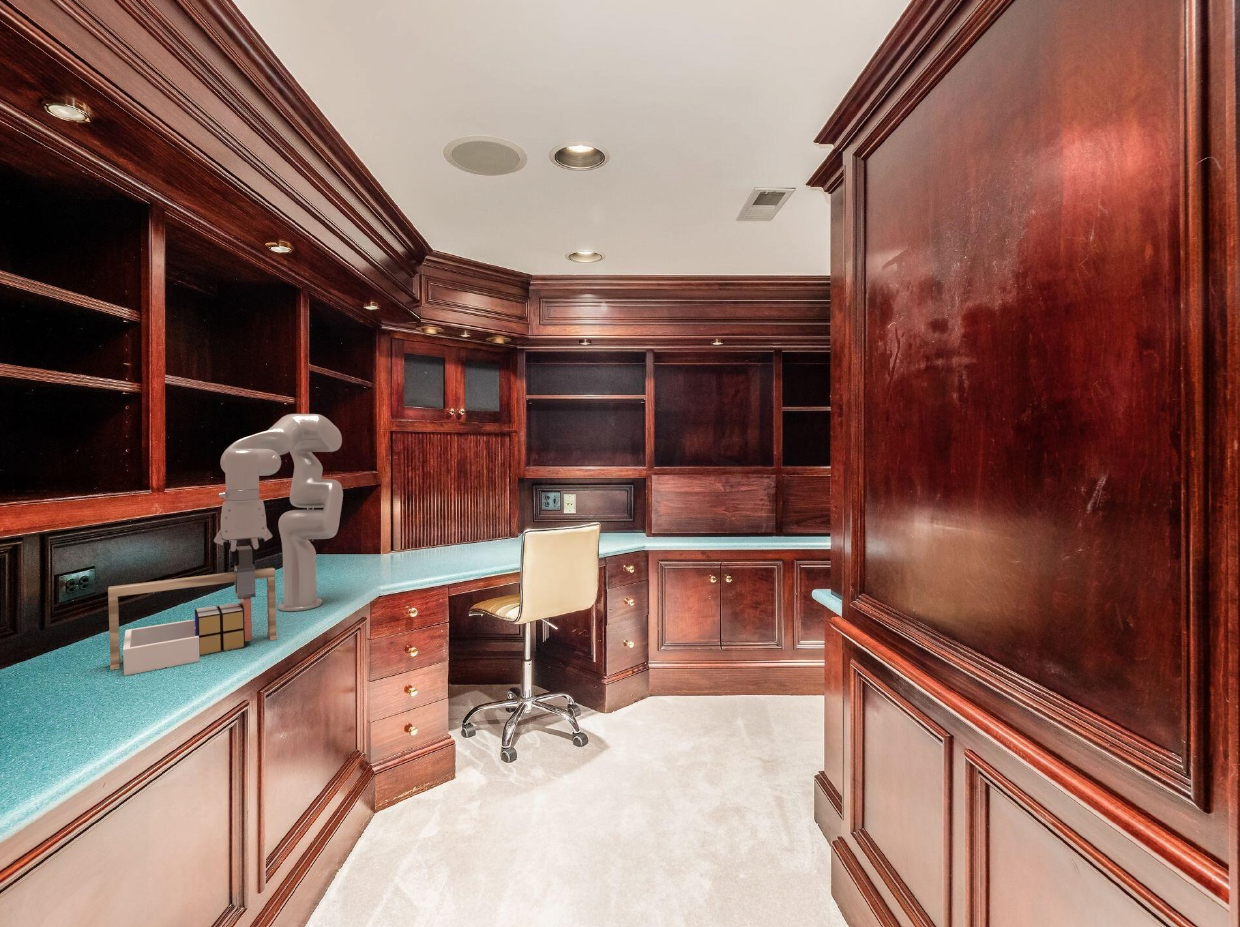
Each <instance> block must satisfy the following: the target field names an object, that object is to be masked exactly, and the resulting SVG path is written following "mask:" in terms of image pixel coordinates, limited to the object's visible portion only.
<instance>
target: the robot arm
mask: <svg viewBox="0 0 1240 927" xmlns="http://www.w3.org/2000/svg"><path fill="white" fill-rule="evenodd" d="M342 443H343V436H342V433H341V431H340V430H339V428H338V427H337V426H336V425H334V423H333V422H331V420H330V419H328V418H327V417H325V416H324V415H322V414H318V413H317V414H316V413H290V414H289V413H288V414H286V415H284V416H282V417H281V418H280V419H279V420H278V421H276V422H275V423H274V424H273V425H272V426H271V427H270V428H269V429H267V430H265V431H261V432H258V433H255V434H252V435H249V436H246V437H243V438H240V439H238V440H236V441H234V442H233V443H232V444H230V445H229V446H228V447H227V448H226V449H225V450H224V452H223V453H222V455H221V458H220V461H219V462H220V463H219V464H220V468H221V470H222V471H223V472H224V474H225V491H222V492H219V493H218V496H219V498H220V499H225V501H223V502H222V506H221V513H220V529H219V531H218V532H217V534H216V535H215V537H214V539H213V542H214V543H215V544H218V545H221V546H223V547H225V548H226V549H228V550H230V558H231V559H230V561H231V563H233V565H235V566H238V565H239V563H238V551H237V548H236V547H237V543H238V541H237V540H247V539H248V540H249V539H250V541H251V546H250V547H251V548H252V559H253V565H255V564H256V561H258V549H259V547H260V546H261V545H262V544H264V543H265V542H266V541H268V540H269V539H272V538H273V534H272V532H270V530H269V528H268V527H267V516H266V508H265V504H264V500H261V499H260V477H262V476H263V477H264V476H271V475H274V474H276V473H277V472H278V471H279V470H280V468H281V466H282V460H281V459H282V458H281V456H283V455H286V454H288V453H290V455H291V458H292V461H293V465H294V468H293V475H292V481H291V486H290V491H289V502H290V504H291V505H292V506H294V507H296V508H302V509H293V510H289V511H286V512H284V513H283V514H281V516H280V517H279V519H278V531H279V535H280V539H281V549H282V576H283V577H282V578H283V579H282V580H283V582H282V583H283V588H282V589H283V601H282V602H281V603H279V604H278V610H279V611H282V612H298V611H299V612H300V611H305V610H313V609H315V608H318V607H320V606H321V605H322V604H323V600H322V599H321V598H319V597H318V596H317V595H318V594H317V551H316V549H315V546H314V545H313V544H312V543H311V541H310V540H326V539H331V538H334V537H335V536H336V535H337V533H338V531H339V526H340V518H341V512H342V507H343V506H342V505H343V497H344V491H343V490H344V489H343V487H342V486H343V485H342V484H341V483H340V481H338V480H336V479H331V478H322V476H323V470H324V468H323V465H322V463H321V462H320V460H319V459H318V458H317V457H316V456H315V455H314V454H313V453H314V452H315V453H316V452H317V453H318V452H319V453H320V452H321V453H323V452H324V453H328V452H329V453H333V452H336V451H338V450H339V449H340V448H341V446H342ZM304 508H305V509H304ZM308 508H314V509H308ZM315 508H317V509H315ZM319 508H323V509H319Z"/></svg>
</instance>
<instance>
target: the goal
mask: <svg viewBox="0 0 1240 927" xmlns="http://www.w3.org/2000/svg"><path fill="white" fill-rule="evenodd" d="M124 632H125V633H124V640H123V648H122V654H123V655H122V656H123V659H122V660H123V676H124V677H125V676H128V675H135V674H140V673H145V672H150V671H155V669H156V670H160V669H165V667H167V668H171V667H175V666H176V667H177V666H181V665H186V664H190V663H191V664H192V663H197V662H200V661H201V659H200V658H201V656H200V654H199V636H195V618H194V619H189V620H182V621H175V622H169V623H163V624H156V625H155V624H154V625H149V626H142V627H137V628H131V629H129V628H128V629H125V631H124Z"/></svg>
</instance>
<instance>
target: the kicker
mask: <svg viewBox="0 0 1240 927" xmlns="http://www.w3.org/2000/svg"><path fill="white" fill-rule="evenodd" d="M236 548H237V551H238V563H239V565H238V566H235V565H234V564H233V565H234V572H237V581H236V582H234V595H235V597H236V599H237V600H239V603H240V605H241V607H242V608H243V610H244V627H245V628H244V630H245V642H248V641H249V642H251V641H253V624H252V622H253V621H252V619H253V618H252V617H253V616H252V598H256V594H257V593H256V579H255V570H256V566H254V564H253V559H252V548H251V546H250V545H243V546H236Z"/></svg>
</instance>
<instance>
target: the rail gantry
mask: <svg viewBox="0 0 1240 927" xmlns="http://www.w3.org/2000/svg"><path fill="white" fill-rule="evenodd" d="M258 579H266V602H267V603H266V604H267V608H266V609H267V610H266V611H267V613H266V614H267V632H266V636H267V637H268V639H269V640H270V641H276V639H277V640H278V635H277V605H276V596H277V595H276V569H275V568H274V567H267V568H257V569H256V568H255V580H258ZM236 581H237V572H235V571H232V572H222V573H215V574H207V575H198V576H190V577H181V578H174V579H164V580H156V581H146V582H140V583H139V582H138V583H128V584H121V585H114V586H108V588H107V594H108V595H107V597H108V598H107V599H108V623H109V625H108V627H109V629H108V630H109V654H110V655H109V656H110V658H109V660H110V665H109V666H110V671H114V669H115V670H119V669H120V666H121V655H120V654H121V652H120V651H121V650H120V646H121V645H120V624H119V623H120V622H119V621H120V620H119V618H120V617H119V597H125V596H132V595H141V594H148V593H157V592H163V591H171V590H179V589H180V590H181V589H187V588H195V587H196V588H197V587H203V586H204V587H205V586H212V585H219V584H225V583H226V584H229V583H235V582H236Z"/></svg>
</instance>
